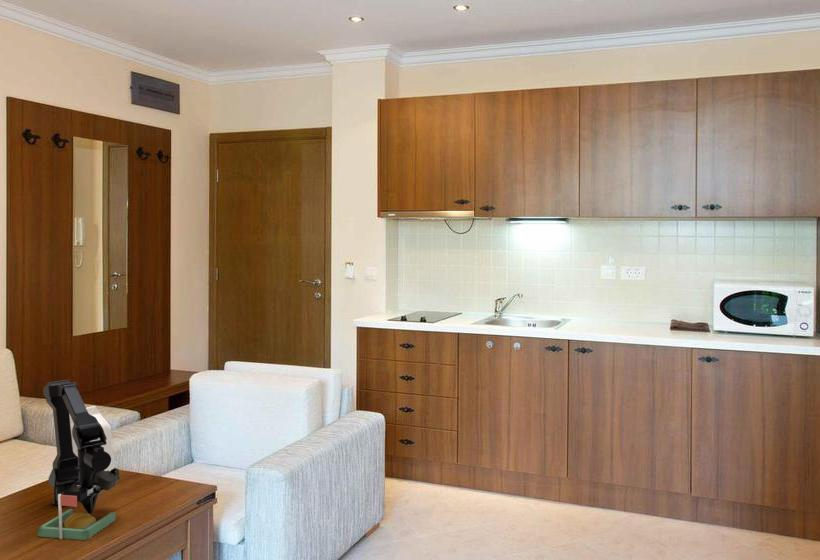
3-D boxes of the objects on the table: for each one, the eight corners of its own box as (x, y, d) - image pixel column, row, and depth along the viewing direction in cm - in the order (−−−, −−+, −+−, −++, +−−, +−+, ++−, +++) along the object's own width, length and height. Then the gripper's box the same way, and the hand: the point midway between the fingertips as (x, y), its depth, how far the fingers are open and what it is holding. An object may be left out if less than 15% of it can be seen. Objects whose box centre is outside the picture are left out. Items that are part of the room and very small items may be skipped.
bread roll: (72, 536, 206) (71, 522, 205) (61, 527, 212) (60, 513, 212) (101, 527, 212) (100, 514, 211) (89, 519, 218) (89, 506, 218)
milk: (94, 472, 260) (92, 402, 258) (115, 477, 254) (112, 406, 252) (64, 482, 250) (61, 409, 248) (85, 488, 244) (82, 413, 242)
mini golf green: (36, 537, 204) (34, 493, 203) (69, 517, 219) (68, 475, 218) (84, 541, 201) (82, 496, 201) (115, 520, 216) (114, 478, 215)
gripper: (93, 475, 205) (95, 527, 206) (130, 455, 223) (131, 503, 224) (59, 473, 207) (61, 525, 208) (98, 453, 225) (99, 501, 226)
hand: (90, 513), depth 216 cm, fingers closed
